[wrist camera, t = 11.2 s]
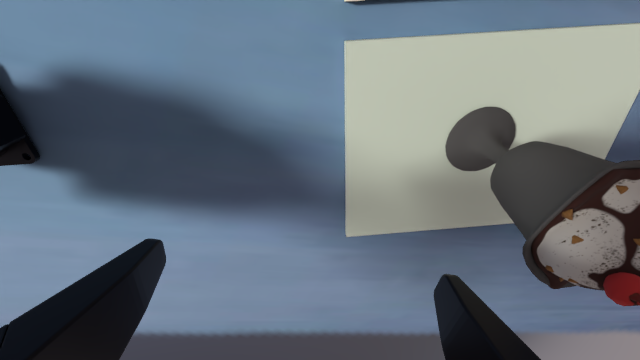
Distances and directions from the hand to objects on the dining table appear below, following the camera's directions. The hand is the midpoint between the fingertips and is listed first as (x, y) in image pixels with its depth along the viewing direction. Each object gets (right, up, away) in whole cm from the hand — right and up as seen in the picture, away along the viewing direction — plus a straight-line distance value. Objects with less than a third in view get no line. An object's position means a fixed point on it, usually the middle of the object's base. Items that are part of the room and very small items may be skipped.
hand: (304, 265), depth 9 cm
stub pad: (+12, +5, +12) cm, 18 cm away
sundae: (+12, +6, +12) cm, 18 cm away
